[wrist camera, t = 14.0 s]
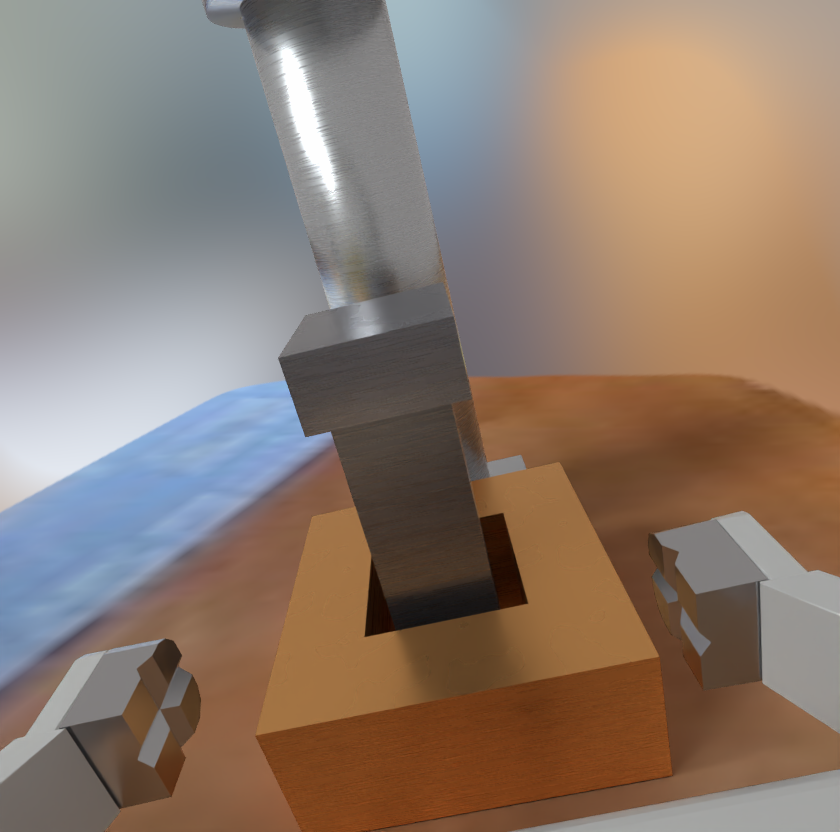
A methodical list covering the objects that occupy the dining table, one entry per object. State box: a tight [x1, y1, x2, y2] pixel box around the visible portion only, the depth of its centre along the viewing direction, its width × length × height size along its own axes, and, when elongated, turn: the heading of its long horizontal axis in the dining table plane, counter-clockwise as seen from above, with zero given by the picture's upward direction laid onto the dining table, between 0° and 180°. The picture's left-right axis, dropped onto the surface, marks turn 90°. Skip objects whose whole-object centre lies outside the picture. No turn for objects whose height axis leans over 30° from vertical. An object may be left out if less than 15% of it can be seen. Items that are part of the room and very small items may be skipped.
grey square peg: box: [278, 282, 501, 631], centre depth 17 cm, size 4×4×12 cm
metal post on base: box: [202, 0, 672, 832], centre depth 18 cm, size 16×10×24 cm, turn 1°
